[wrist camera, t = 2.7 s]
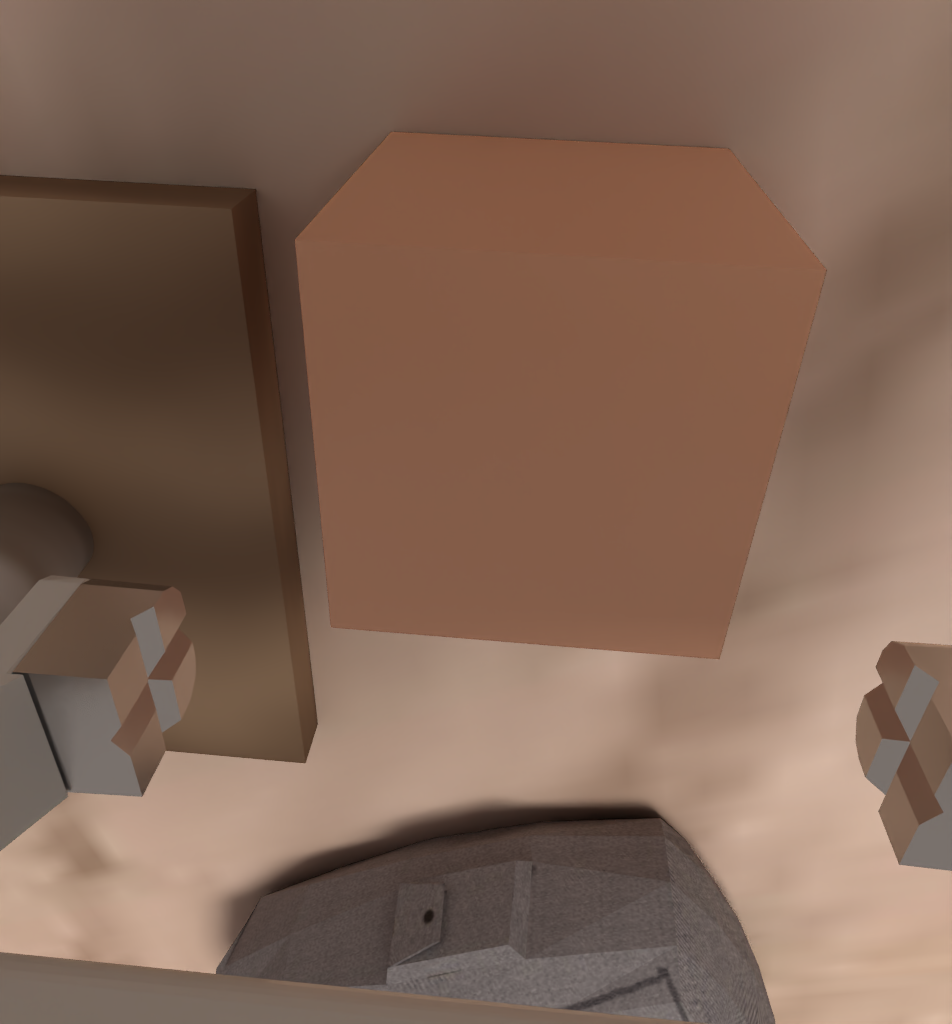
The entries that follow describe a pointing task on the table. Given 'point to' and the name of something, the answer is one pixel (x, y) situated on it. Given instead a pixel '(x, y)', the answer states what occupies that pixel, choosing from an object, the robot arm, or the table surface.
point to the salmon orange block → (548, 387)
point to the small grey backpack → (520, 925)
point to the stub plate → (155, 435)
